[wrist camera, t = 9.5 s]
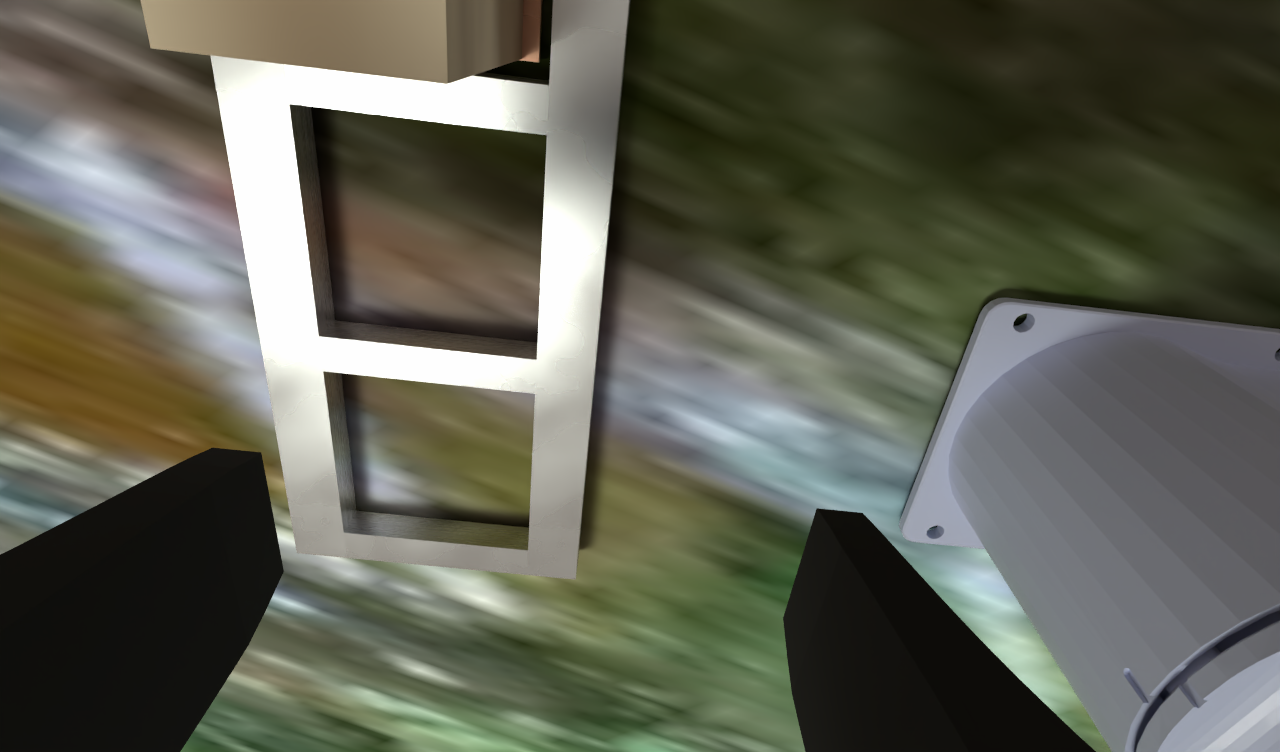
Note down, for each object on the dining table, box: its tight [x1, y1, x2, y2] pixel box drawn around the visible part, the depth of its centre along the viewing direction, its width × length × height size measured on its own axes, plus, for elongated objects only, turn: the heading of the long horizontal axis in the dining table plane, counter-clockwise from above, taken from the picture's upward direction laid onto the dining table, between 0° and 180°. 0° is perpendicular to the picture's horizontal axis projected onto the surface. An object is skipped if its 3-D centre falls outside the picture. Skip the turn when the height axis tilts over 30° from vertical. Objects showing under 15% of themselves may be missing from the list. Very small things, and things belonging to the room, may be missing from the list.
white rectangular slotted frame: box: [211, 0, 631, 579], centre depth 16 cm, size 8×20×1 cm, turn 173°
